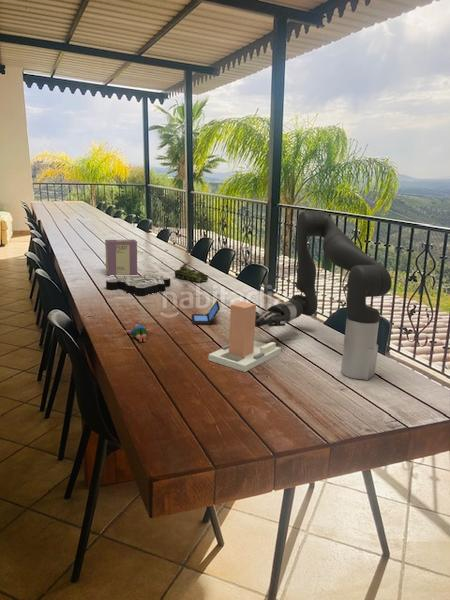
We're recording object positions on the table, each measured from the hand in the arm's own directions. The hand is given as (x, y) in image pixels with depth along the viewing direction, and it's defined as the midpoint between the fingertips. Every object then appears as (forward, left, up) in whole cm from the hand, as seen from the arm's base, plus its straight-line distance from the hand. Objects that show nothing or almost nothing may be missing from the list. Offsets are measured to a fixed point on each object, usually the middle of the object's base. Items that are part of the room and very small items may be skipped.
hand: (255, 324), depth 152 cm
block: (0, +8, -8) cm, 11 cm away
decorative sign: (+96, -39, -11) cm, 104 cm away
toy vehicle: (+92, -74, -10) cm, 119 cm away
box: (+130, -54, -10) cm, 141 cm away
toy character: (+40, +14, -11) cm, 44 cm away
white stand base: (0, +5, -10) cm, 11 cm away
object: (+35, -17, -10) cm, 41 cm away
